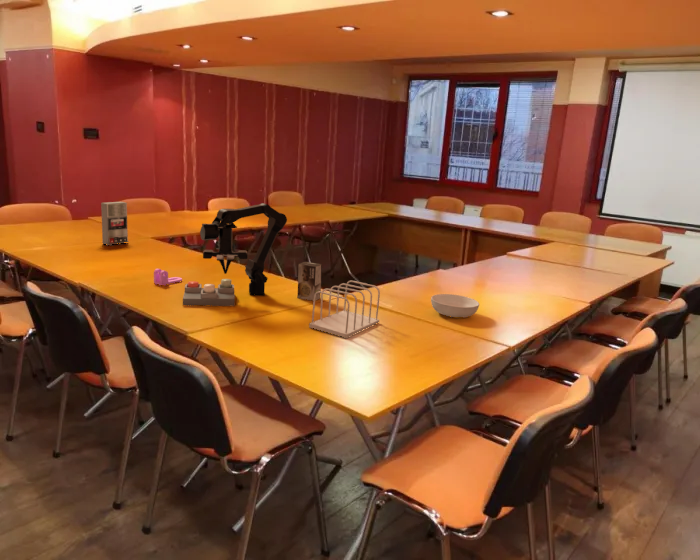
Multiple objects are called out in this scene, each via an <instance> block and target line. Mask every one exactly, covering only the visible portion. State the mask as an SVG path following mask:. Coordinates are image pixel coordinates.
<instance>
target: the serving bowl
mask: <svg viewBox="0 0 700 560" xmlns="http://www.w3.org/2000/svg"><path fill="white" fill-rule="evenodd" d="M430 303H431V305H432V309H434V310H435V311H436V312H437V313H438V314H441V315H443V316H445V315H446V317H448V316H451V317H450V318H452V317H463V318H469V317H471V316H473V315H474V314H476V312H477V311H478V310H479V307H480V303H479V301H478V300H476V299H475V298H471V297H468V296H464V295H461V294H460V295H459V294H452V293H439V294H433V295H432V296H431V298H430ZM468 316H469V317H468Z"/></svg>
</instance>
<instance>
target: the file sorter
mask: <svg viewBox="0 0 700 560" xmlns="http://www.w3.org/2000/svg"><path fill="white" fill-rule="evenodd" d="M350 283H354V284H359V285H363V286H367V287H371V288H372V287H373V288H375V289H376V290H377V293H378V294H377V303H376V305H377V306H376V311H375V312H376V313H375V318H374V317H371V315H372V303H373V293H372V291H371V290H370V289H369V288H367V287H363V286H357V285H353V284H350ZM349 287H351V288H349ZM334 288H337V290H336V289H334ZM354 288H356V289H354ZM340 289H341V290H340ZM358 289H362V290H365V291H367V292H369V295H370V298H369V299H370V300H369V313H368V316H366V315H364V314H365V299H366V296H365V294H364V292H363V291H362V290H358ZM342 290H345V291H342ZM326 291H329V292H326ZM348 291H352V292H357V293H360V294H361V296H362V310H361V314H359V313H357V310H358V297H356V295H355V294H354V293H350V292H348ZM332 292H334V293H335V292H336V294H337V295H336V294H333V293H332ZM317 293H320V311H319V312H320V313H319V314H320V316H319V318H320V319H317V320H314V318H315V308H316V306H315V305H316V300H315V297H316V294H317ZM340 294H344V297H343V296H341V295H340ZM324 295H328V296H329V299H328V315H327V316H325V317H323V298H324ZM347 295H350V296H352V297H353V298H354V300H355V304H354V306H355V307H354V312H352V311H350V301H349V300H348V298H347ZM380 296H381V290H380V288H379V287H378V286H376V285H374V284H368V283H366V282H360V281H356V280H348V281H347V282H346V283H344V282H343V283H340V284H339V285H333V286H332V287H330V288H324V289H322V290H321V291H318V292H316V293H315V294H314V300H313V301H312V302H313V303H312V315H311V316H312V317H311V322H309V325H308V327H309V328H310V329H313V328H314V329H313V330H316V329H317V330H318V331H320V330H321V331H320V332H323V331H325V332H324V333H326V332H328V333H327V334H330V333H332V334H331V335H333V334H335V335H334V336H336V335H339V336H338V337H340V336H342V337H341V338H343V337H345V338H344V339H348V338H347V337H349V336H351V335H353V334H355V333H357V332H359V331H362V330H363V329H366V328H368V327H370V326H372V325H374V324H376V323H378V322H379V323H380V319H379V318H378V316H379V306H380ZM332 297H335V298H336V310H335V311H336V313H333V314H331V303H332ZM339 299H342V300H344V304H343V310H341V311H339ZM346 305H347V310H346ZM372 327H373V326H372ZM370 328H371V327H370ZM368 329H369V328H368ZM366 330H367V329H366ZM362 332H363V331H362ZM357 334H358V333H357ZM355 335H356V334H355ZM353 336H354V335H353ZM351 337H352V336H351ZM349 338H350V337H349Z"/></svg>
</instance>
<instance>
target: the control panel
mask: <svg viewBox="0 0 700 560" xmlns="http://www.w3.org/2000/svg"><path fill="white" fill-rule="evenodd" d="M202 286H203V285H202V283H199V285H198V288H197V287H188V283H186V284H185V285H184V293H183V296H182V306H183V305H187V307H188V305H189V307H195V306H194V305H203V306H204V305H205V307H207V306H206V305H210V306H209V307H214V306H216V307H235V304H236V303H235V298H236V297H235V284H232V283H231V288H222V287H221V283H219V284H218V285H217V287H215V292H214V293H204V287H202ZM190 305H191V306H190ZM192 305H193V306H192ZM211 305H212V306H211ZM203 306H202V307H203Z"/></svg>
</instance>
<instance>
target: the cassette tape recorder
mask: <svg viewBox="0 0 700 560" xmlns="http://www.w3.org/2000/svg"><path fill="white" fill-rule="evenodd" d="M100 205H101V208H100V209H101V233H102V242H101V244H102V243H103V244H107V245H106V246H108V245H110V246H113V245H112V244H117V243H124V242H129V238H128V235H129V234H128V207H127V205H128V202H125V201H113V202H112V201H108V202H101V203H100ZM103 244H102V245H103Z"/></svg>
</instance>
